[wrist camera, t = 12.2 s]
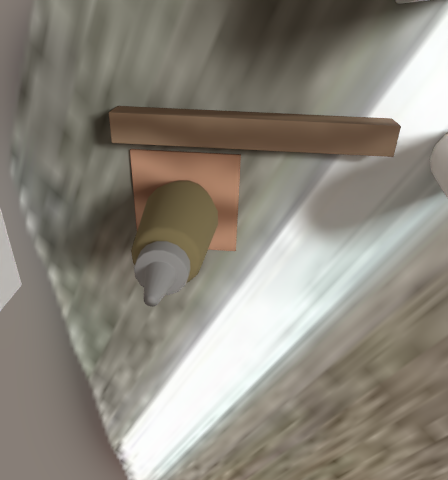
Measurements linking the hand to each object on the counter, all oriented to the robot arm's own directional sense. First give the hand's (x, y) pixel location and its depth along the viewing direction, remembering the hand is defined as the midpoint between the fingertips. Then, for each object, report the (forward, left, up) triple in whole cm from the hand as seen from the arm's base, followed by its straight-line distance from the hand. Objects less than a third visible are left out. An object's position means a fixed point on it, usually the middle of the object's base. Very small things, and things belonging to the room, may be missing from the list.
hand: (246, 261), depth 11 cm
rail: (+12, 0, -34) cm, 36 cm away
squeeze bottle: (+14, -7, -34) cm, 37 cm away
